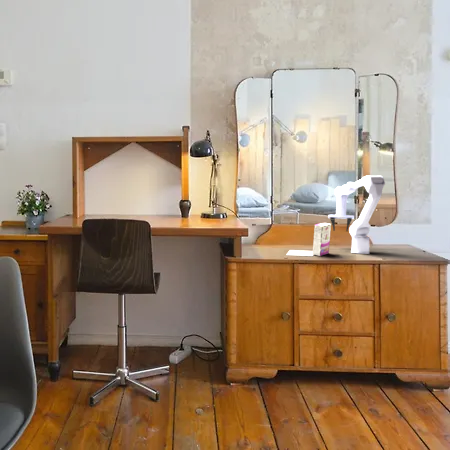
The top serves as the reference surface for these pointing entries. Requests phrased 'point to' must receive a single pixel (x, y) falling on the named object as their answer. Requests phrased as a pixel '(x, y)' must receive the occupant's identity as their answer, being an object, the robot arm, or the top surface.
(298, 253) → the mat
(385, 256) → the top surface
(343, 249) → the top surface
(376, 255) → the top surface
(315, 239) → the candy bar box
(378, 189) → the robot arm
